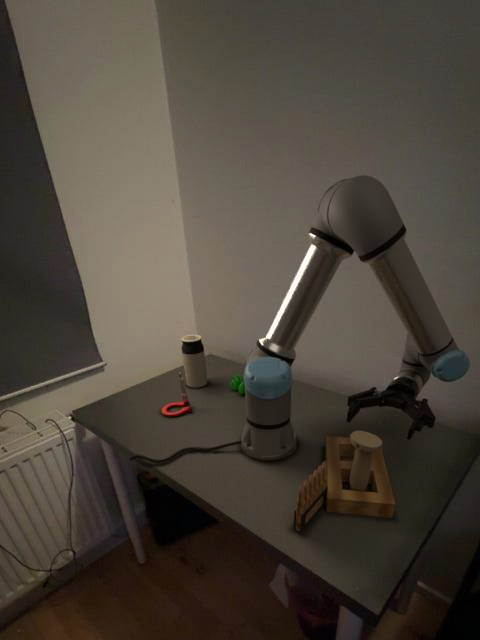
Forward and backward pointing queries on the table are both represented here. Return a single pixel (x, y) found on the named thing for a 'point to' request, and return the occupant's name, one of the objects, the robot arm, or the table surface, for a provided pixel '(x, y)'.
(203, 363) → the travel mug
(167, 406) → the tow hook
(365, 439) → the handle
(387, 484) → the rack
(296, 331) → the robot arm
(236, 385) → the green lumpy cluster
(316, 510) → the ammunition clip
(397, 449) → the table surface
